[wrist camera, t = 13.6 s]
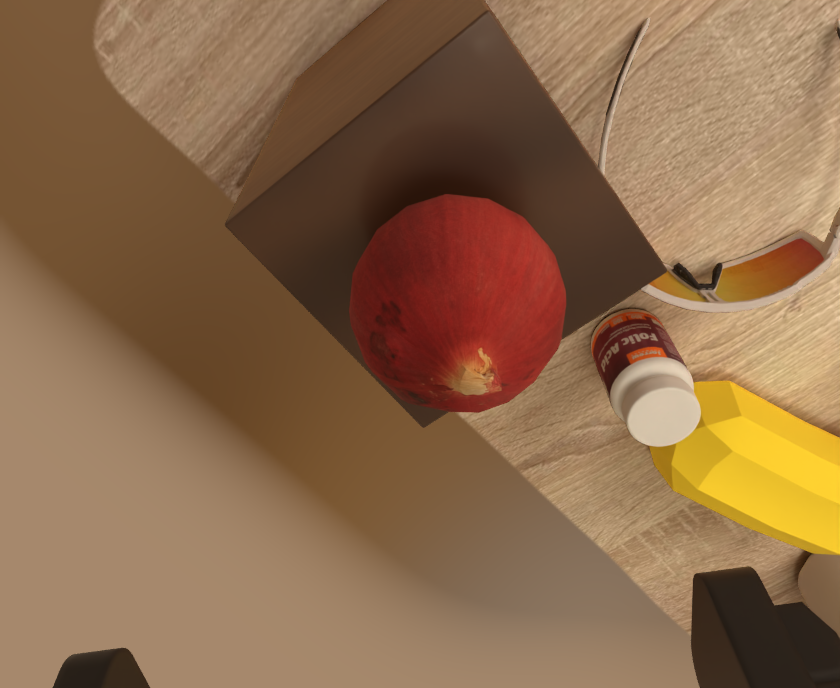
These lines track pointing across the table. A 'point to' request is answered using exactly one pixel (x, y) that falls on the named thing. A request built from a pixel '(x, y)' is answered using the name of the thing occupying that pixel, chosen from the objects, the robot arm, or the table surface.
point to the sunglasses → (744, 277)
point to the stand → (429, 163)
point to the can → (822, 587)
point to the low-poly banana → (758, 468)
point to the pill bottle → (645, 378)
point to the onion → (457, 304)
